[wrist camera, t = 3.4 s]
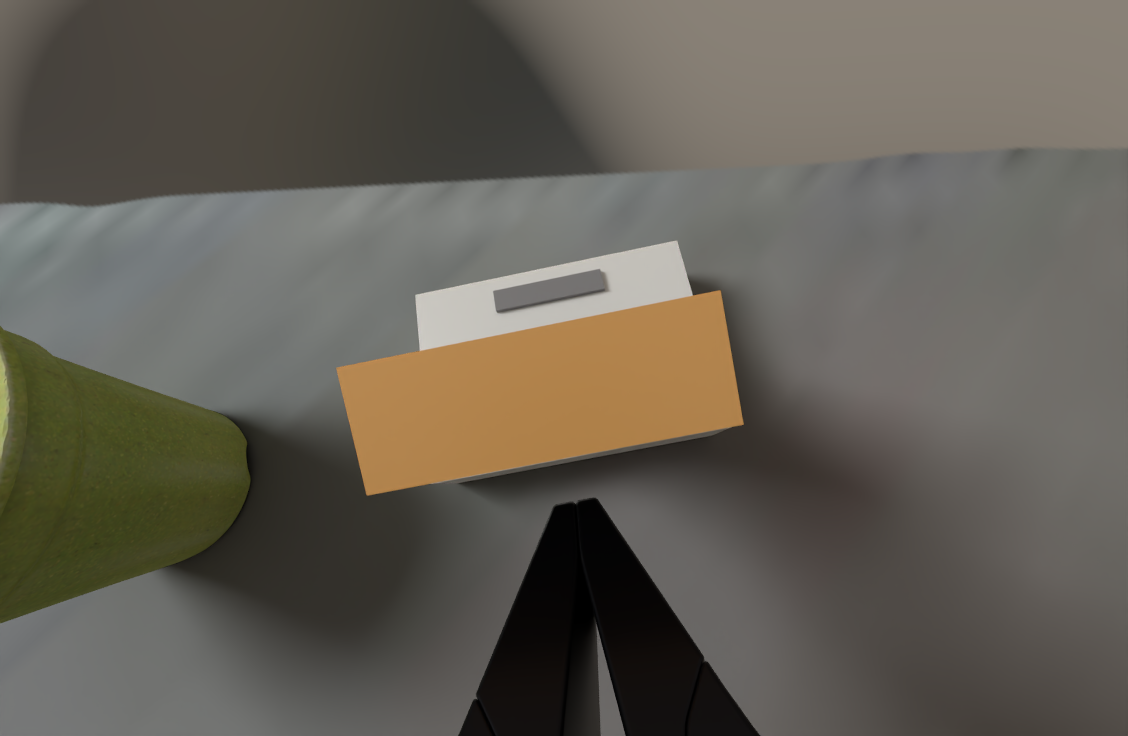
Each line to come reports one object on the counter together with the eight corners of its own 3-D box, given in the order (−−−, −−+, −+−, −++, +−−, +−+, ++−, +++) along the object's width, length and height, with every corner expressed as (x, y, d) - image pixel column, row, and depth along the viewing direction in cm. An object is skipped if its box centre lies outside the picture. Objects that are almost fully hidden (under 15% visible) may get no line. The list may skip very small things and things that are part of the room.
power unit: (711, 435, 16) (749, 419, 12) (456, 483, 16) (407, 484, 12) (666, 273, 18) (685, 211, 14) (440, 319, 18) (393, 273, 14)
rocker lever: (644, 370, 14) (751, 423, 5) (488, 401, 14) (359, 497, 6) (634, 318, 14) (728, 288, 5) (477, 349, 14) (329, 369, 6)
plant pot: (337, 426, 17) (88, 376, 9) (202, 658, 15) (-273, 867, 7) (175, 343, 19) (-157, 235, 11) (37, 540, 17) (-496, 596, 9)
